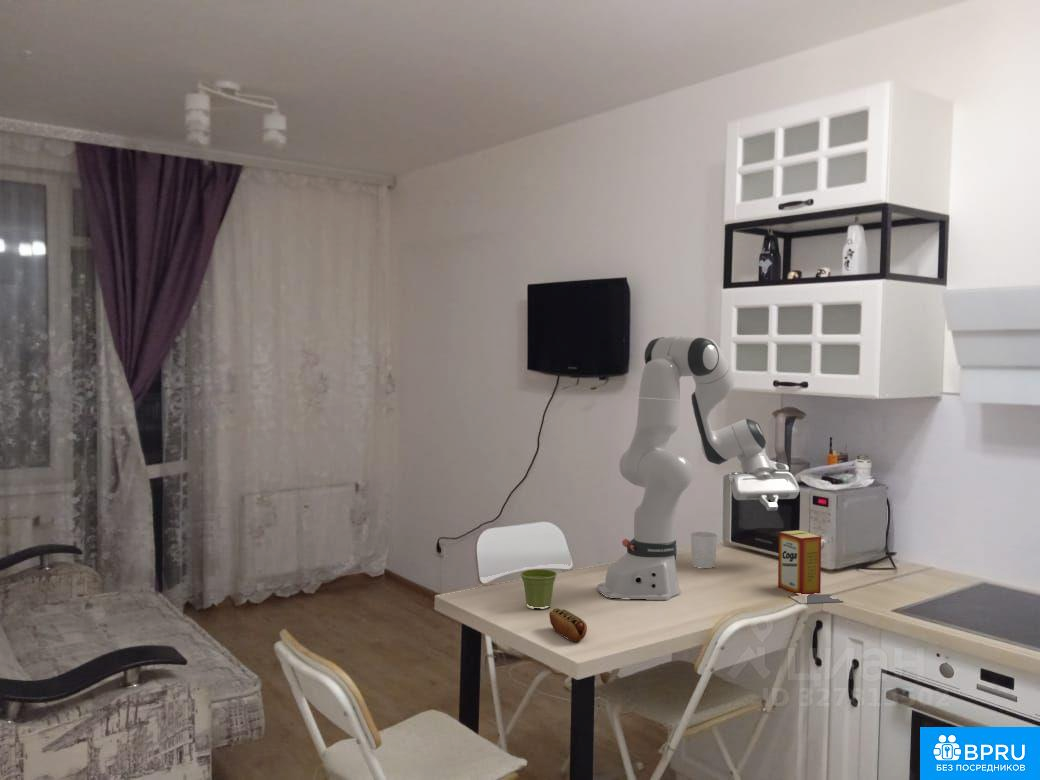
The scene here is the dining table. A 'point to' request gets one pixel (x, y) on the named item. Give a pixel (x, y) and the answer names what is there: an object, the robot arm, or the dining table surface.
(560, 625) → the hot dog
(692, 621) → the dining table surface
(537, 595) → the plant pot
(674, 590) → the robot arm
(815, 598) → the mat
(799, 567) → the baking soda box
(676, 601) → the dining table surface
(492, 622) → the dining table surface
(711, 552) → the white cup
